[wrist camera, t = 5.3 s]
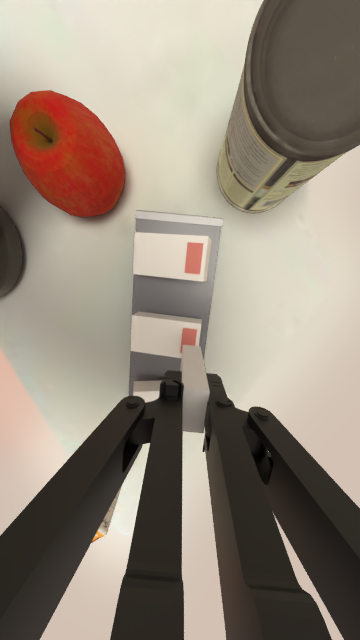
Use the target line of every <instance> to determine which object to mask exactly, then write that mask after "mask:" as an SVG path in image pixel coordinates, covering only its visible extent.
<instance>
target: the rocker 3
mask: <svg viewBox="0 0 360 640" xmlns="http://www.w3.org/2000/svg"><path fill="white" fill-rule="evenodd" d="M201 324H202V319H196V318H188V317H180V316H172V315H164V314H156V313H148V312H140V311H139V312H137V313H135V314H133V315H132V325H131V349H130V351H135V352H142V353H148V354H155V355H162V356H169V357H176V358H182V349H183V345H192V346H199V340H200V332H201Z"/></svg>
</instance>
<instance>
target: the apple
mask: <svg viewBox="0 0 360 640" xmlns="http://www.w3.org/2000/svg"><path fill="white" fill-rule="evenodd" d="M10 131H11V141H12V144H13V148H14V151H15V154H16V156H17V158H18V161H19V163H20V165H21V167H22V169H23V171H24V173H25V175H26V176H27V178H28V179H29V181H30V182H31V183H32V185H33V186H34V187H35V188H36V189H37V191H38V192H39V193H40V194H41V196H43V197H44V198H45V199H46V200H47V201H48V202H50V203H51V204H53V205H55V206H56V207H58V208H60V209H62V210H63V211H65V212H67V213H69V214H70V215H74V216H79V217H88V216H95V215H101V214H103V213H106V212H108V211H109V210H111V209H112V208H113V207H114V206H115V204H116V202H117V201H118V199H119V198H120V195H121V192H122V189H123V185H124V181H125V169H124V163H123V158H122V156H121V153H120V151H119V149H118V146H117V144H116V142H115V140H114V138H113V137H112V135H111V134H110V133H109V131H108V130H107V128H106V127H105V125H104V124H103V123H102V122H101V121H100V119H99V118H98V117H97V116H96V115H95V114H94V113H93V112H91V111H90V110H89V109H88V108H86V107H85V106H84V105H83V104H82V103H80V102H78V101H76V100H74V99H71V98H69V97H67V96H65V95H62V94H59V93H56V92H53V91H50V90H49V91H37V92H31V93H29V94H28V95H26V96H25V97H24V98H22V99H21V100H20V101H18V103H17V105H16V108H15V110H14V112H13V115H12V117H11V119H10Z"/></svg>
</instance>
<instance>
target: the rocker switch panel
mask: <svg viewBox="0 0 360 640" xmlns="http://www.w3.org/2000/svg"><path fill="white" fill-rule="evenodd" d="M135 218H136V232H141V233H159V234H178V235H196V236H209V237H210V239H211V240H212V241H211V249H210V257H209V265H208V273H207V281H204V282H201V281H192V280H183V279H174V278H165V277H156V276H147V275H138V274H134V284H133V308H132V315H133V314H135V313H137V312H139V311H140V312H148V313H156V314H164V315H172V316H180V317H188V318H196V319H202V324H201V332H200V340H199V346H200V347H201V352H202V356H203V360H204V352H205V345H206V337H207V330H208V322H209V315H210V307H211V300H212V292H213V285H214V277H215V270H216V262H217V255H218V247H219V240H220V232H221V227H222V224H223V219H222V218H215V217H204V216H194V215H183V214H173V213H162V212H152V211H141V210H137V211H135ZM180 368H181V358H176V357H169V356H162V355H155V354H148V353H142V352H135V351H131V356H130V380H129V396H133V388H134V381H160V380H163V378H164V373H165V372H167V371H168V370H172V371H180Z"/></svg>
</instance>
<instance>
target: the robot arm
mask: <svg viewBox="0 0 360 640" xmlns="http://www.w3.org/2000/svg"><path fill="white" fill-rule="evenodd" d="M21 266H22V248H21V243H20V239H19V236H18V233H17V231H16V229H15V227H14V225H13V223H12V221H11V220H10V218H9V217H8V215H7V214H6V213H5V211H4V210H3V209H2V208H1V207H0V297H1V296H2V295H4V294H5V293H7V292H8V291H9V290H10V289H11V288H12V287H13V286H14V284H15V283H16V281H17V279H18V277H19V274H20V271H21ZM204 426H205V438H204V445H203V452H204V451H205V452H206V461H207V470H208V478H209V487H210V496H211V505H212V514H213V522H214V531H215V541H216V548H217V558H218V567H219V576H220V585H221V593H222V603H223V611H224V620H225V630H226V640H332V639H331V636H330V634H329V631H328V629H327V626H326V624H325V621H324V619H323V617H322V614H321V612H320V610H319V608H318V606H317V604H316V602H315V601H314V599H313V598H312V596H311V595H310V594H309V593H307V592H306V591H304V590H302V588H301V587H300V585H299V583H298V581H297V579H296V577H295V574H294V571H293V568H292V565H291V562H290V560H289V557H288V554H287V551H286V548H285V546H284V543H283V540H282V537H281V535H280V532H279V529H278V526H277V523H276V521H275V518H274V515H275V516H276V518H277V520H278V522H279V524H280V526H281V527H282V529H283V531H284V533H285V535H286V537H287V538H288V540H289V542H290V544H291V545H292V547H293V549H294V551H295V553H296V554H297V556H298V558H299V560H300V561H301V563H302V565H303V567H304V569H305V570H306V572H307V574H308V576H309V578H310V579H311V581H312V583H313V585H314V587H315V588H316V590H317V592H318V594H319V595H320V597H321V599H322V601H323V602H324V604H325V606H326V608H327V610H328V612H329V613H330V615H331V617H332V619H333V620H334V622H335V624H336V626H337V628H338V629H339V631H340V633H341V635H342V637H343V638H344V640H360V508H359V507H358V506H357V505H356V504H355V503H354V502H353V501H352V500H351V499H350V497H349V496H348V495H347V494H346V493H345V492H344V491H343V490H342V489H341V488H340V487H339V486H338V484H337V483H335V481H334V480H333V479H332V478H331V477H330V476H329V475H328V474H327V472H326V471H325V470H324V469H323V468H322V467H321V466H320V465H319V464H318V463H317V462H316V461H315V459H314V458H313V457H312V456H311V455H310V454H309V453H308V452H307V451H306V450H305V449H304V448H303V446H302V445H301V444H300V443H299V442H298V441H297V440H296V439H295V438H294V437H293V436H292V435H291V434H290V432H289V431H288V430H287V429H286V428H285V427H284V426H283V425H282V424H281V423H280V421H278V419H277V418H276V417H275V416H274V415H273V414H272V413H271V412H270V411H268V410H266V409H264V408H261V407H251V408H250V409H249V412H246V411H242V410H240V409H237V408H235V406H234V404H233V402H232V401H231V400H230V399H229V398H227V395H226V392H225V389H224V386H223V384H222V380H221V378H220V377H219V376H218V375H217V374H208V373H206V371H205V366H204V361H203V356H202V352H201V347H200V346H192V345H183V349H182V358H181V368H180V371H172V370H168V371H167V372H165V373H164V378H163V381H162V382H161V383H160V392H159V398H158V399H156V400H154V401H151V402H145V400H144V399H143V398H141V397H139V396H128V397H125V398H123V399H122V400H121V401H120V402H119V403H118V404H117V405H116V407H115V408H114V409H113V410H112V411H111V412H110V413H109V414H108V416H107V417H106V418H105V419H104V420H103V421H102V422H101V423H100V425H99V426H98V427H97V428H96V429H95V430H94V431H93V432H92V434H91V435H90V436H89V437H88V438H87V439H86V440H85V441H84V442H83V444H82V445H81V446H80V447H79V448H78V449H77V450H76V451H75V453H74V454H73V455H72V456H71V457H70V458H69V459H68V460H67V462H66V463H65V464H64V465H63V466H62V467H61V468H60V469H59V471H58V472H57V473H56V474H55V475H54V476H53V477H52V478H51V480H50V481H49V482H48V483H47V484H46V485H45V486H44V487H43V489H42V490H41V491H40V492H39V493H38V494H37V495H36V497H35V498H34V499H33V500H32V501H31V502H30V503H29V504H28V506H26V508H25V509H24V510H23V511H22V512H21V513H20V514H19V516H18V517H17V518H16V519H15V520H14V521H13V522H12V523H11V524H10V526H9V527H8V528H7V529H6V530H5V531H4V532H3V534H2V535H1V536H0V640H40V638H41V636H42V634H43V632H44V630H45V628H46V627H47V625H48V623H49V621H50V619H51V617H52V615H53V613H54V612H55V610H56V608H57V606H58V604H59V602H60V600H61V598H62V597H63V595H64V593H65V591H66V589H67V587H68V585H69V583H70V581H71V580H72V578H73V576H74V574H75V572H76V570H77V568H78V566H79V565H80V563H81V561H82V559H83V557H84V555H85V553H86V551H87V550H88V548H89V546H90V544H91V542H92V540H93V538H94V536H95V535H96V533H97V531H98V529H99V527H100V525H101V523H102V521H103V520H104V518H105V516H106V514H107V512H108V510H109V508H110V506H111V504H112V503H113V501H114V499H115V497H116V495H117V493H118V491H119V489H120V488H121V486H122V484H123V482H124V480H125V478H126V476H127V474H128V473H129V471H130V469H131V467H132V465H133V463H134V461H135V459H136V458H137V456H138V454H139V452H140V450H141V448H142V445H143V444H146V443H150V448H149V453H148V458H147V463H146V469H145V474H144V479H143V485H142V490H141V495H140V500H139V506H138V511H137V516H136V522H135V527H134V532H133V538H132V543H131V549H130V553H129V559H128V564H127V569H126V573H125V575H124V577H123V580H122V585H121V588H120V594H119V598H118V603H117V608H116V613H115V618H114V623H113V628H112V633H111V639H110V640H184V591H183V581H182V571H181V570H182V568H181V567H182V566H181V565H182V564H181V563H182V431H187V432H198V433H204ZM268 451H269V452H268ZM270 454H271V455H270ZM273 513H274V515H273Z"/></svg>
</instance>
